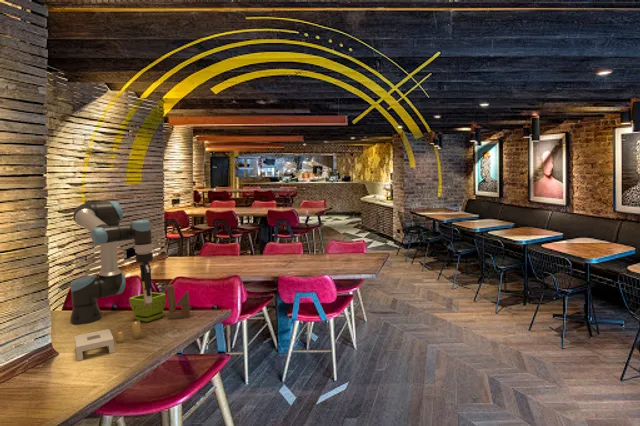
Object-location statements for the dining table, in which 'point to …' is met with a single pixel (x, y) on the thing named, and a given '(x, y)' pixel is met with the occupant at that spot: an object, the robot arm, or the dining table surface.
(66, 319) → the dining table surface
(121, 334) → the pin short
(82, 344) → the white block with hole
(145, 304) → the pin long
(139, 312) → the flower pot
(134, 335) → the pin medium
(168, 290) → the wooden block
